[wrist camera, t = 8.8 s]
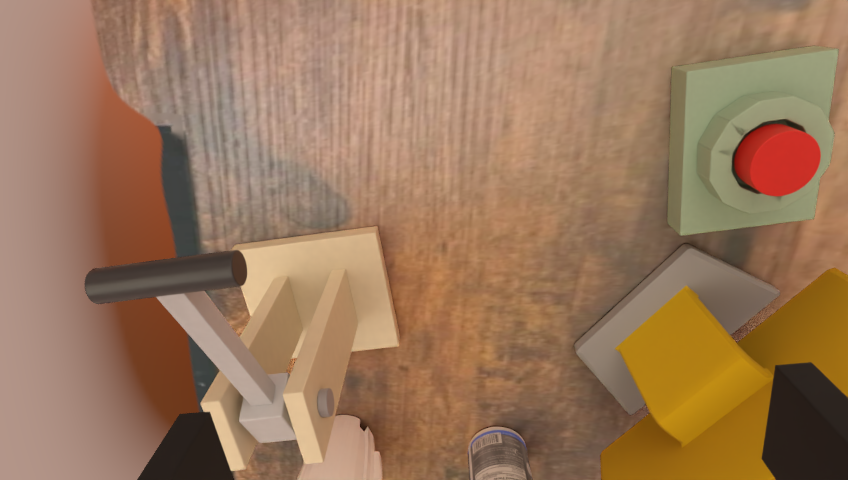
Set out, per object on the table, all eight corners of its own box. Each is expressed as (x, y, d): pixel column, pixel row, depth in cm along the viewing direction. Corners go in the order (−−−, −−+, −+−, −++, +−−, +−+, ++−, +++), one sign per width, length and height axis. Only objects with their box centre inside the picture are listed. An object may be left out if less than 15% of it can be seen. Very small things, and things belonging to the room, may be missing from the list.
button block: (671, 66, 32) (700, 75, 28) (813, 45, 31) (863, 51, 28) (666, 222, 36) (692, 248, 32) (793, 206, 35) (834, 231, 32)
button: (736, 128, 30) (752, 136, 28) (805, 119, 30) (825, 126, 28) (731, 190, 31) (747, 200, 30) (797, 181, 31) (816, 191, 29)
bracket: (234, 244, 38) (131, 369, 25) (377, 225, 37) (345, 344, 24) (269, 352, 41) (194, 509, 29) (400, 337, 40) (382, 492, 28)
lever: (97, 249, 20) (72, 302, 19) (238, 231, 20) (225, 283, 18) (237, 403, 30) (228, 446, 28) (335, 393, 30) (331, 436, 28)
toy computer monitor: (602, 434, 44) (681, 650, 29) (528, 383, 42) (575, 587, 27) (817, 258, 37) (1058, 425, 22) (740, 189, 35) (950, 323, 21)
